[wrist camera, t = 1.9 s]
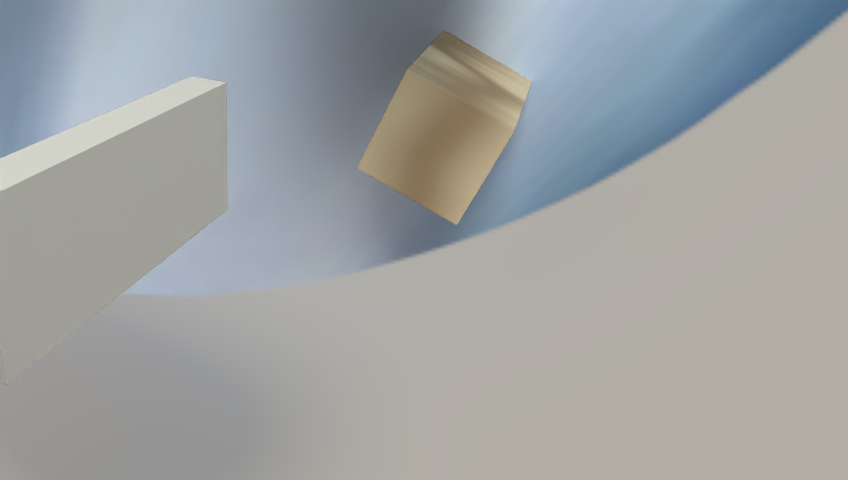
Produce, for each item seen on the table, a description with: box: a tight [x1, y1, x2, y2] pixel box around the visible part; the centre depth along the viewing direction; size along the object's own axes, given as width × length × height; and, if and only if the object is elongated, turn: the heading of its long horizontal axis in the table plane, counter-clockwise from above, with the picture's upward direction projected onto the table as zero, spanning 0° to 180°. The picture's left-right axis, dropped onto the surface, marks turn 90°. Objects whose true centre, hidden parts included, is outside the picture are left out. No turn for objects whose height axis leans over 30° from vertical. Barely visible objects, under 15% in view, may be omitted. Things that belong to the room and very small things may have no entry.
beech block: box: [357, 31, 532, 225], centre depth 36 cm, size 5×5×8 cm
